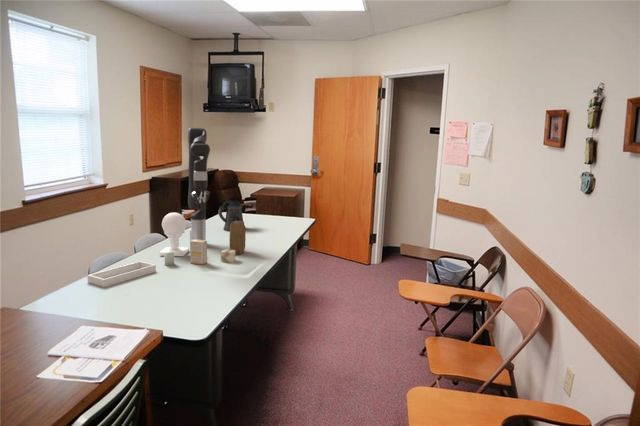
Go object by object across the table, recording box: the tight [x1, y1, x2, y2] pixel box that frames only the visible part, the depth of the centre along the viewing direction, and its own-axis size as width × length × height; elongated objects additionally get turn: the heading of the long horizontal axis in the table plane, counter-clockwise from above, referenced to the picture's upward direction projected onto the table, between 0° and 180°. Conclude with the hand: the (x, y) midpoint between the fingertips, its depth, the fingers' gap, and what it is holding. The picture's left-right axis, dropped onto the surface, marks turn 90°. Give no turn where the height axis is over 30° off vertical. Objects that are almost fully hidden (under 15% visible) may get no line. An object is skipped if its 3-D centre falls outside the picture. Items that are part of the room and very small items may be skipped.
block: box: [229, 220, 247, 255], centre depth 255 cm, size 11×8×20 cm
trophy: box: [158, 212, 190, 257], centre depth 248 cm, size 14×14×25 cm
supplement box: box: [189, 239, 208, 266], centre depth 230 cm, size 8×5×13 cm, turn 71°
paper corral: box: [86, 260, 157, 288], centre depth 204 cm, size 12×29×4 cm, turn 152°
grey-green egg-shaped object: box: [163, 251, 175, 267], centre depth 226 cm, size 5×5×7 cm
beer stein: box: [217, 198, 246, 233], centre depth 311 cm, size 16×19×25 cm
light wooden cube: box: [220, 248, 236, 264], centre depth 238 cm, size 6×6×6 cm
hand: (200, 209), depth 236 cm, fingers closed
